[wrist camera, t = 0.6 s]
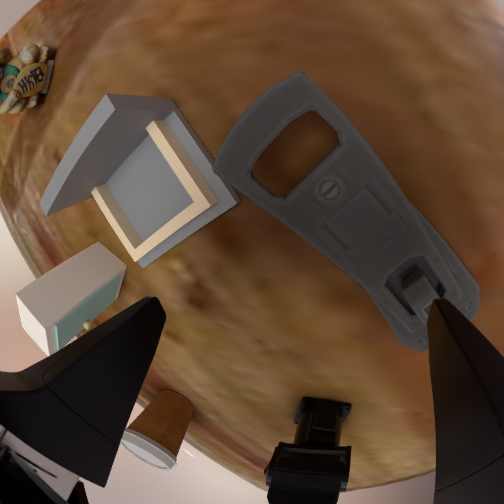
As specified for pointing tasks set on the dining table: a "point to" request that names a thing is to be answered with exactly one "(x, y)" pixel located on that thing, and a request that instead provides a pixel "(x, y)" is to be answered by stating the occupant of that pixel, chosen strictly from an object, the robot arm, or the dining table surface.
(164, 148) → the board
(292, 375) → the dining table surface
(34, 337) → the white cabinet
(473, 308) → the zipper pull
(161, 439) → the disposable coffee cup
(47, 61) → the decorative figurine
